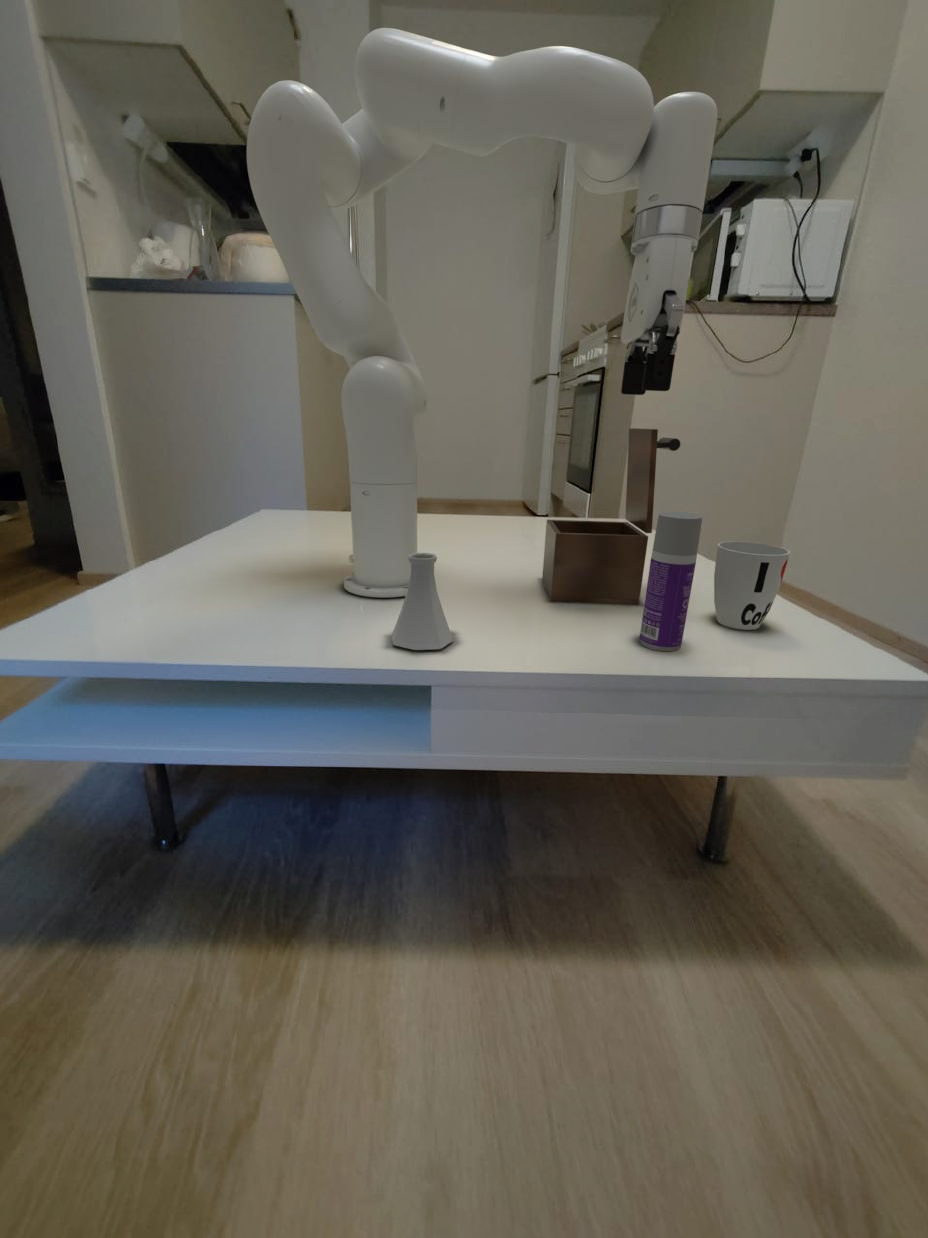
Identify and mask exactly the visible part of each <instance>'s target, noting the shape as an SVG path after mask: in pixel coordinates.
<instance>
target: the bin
mask: <svg viewBox="0 0 928 1238" xmlns="http://www.w3.org/2000/svg"><path fill="white" fill-rule="evenodd" d="M545 526H546V527H545V539H544V551H543V564H542V576H541V577H542V578H541V579H542V582H543V586H544V588H545V590H546V593H547V597H548V598H549V601H550V602H555V603H557V602H558V603H587V604H611V605H613V604H615V605H639V604H640V598H641V592H642V586H643V579H644V578H643V577H644V571H645V563H646V558H647V557H646V556H647V549H648V541H649V536H648V535H647V534H646V533H645V532H643V531H642V530H640V529H639V528H638V527H636V526H635V525H633V524H632V523H630V522H629V521H607V520H606V521H605V520H604V521H603V520H576V519H574V520H573V519H572V520H571V519H546V525H545Z"/></svg>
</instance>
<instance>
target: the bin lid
mask: <svg viewBox="0 0 928 1238" xmlns="http://www.w3.org/2000/svg"><path fill="white" fill-rule="evenodd" d="M658 435H659V429H657V428H637V427H636V428H632V427H631V428H628V446H627V469H626V472H627V473H626V493H625V494H626V495H625V517H624V519H625V521H626V522H628V523H629V524H631V525H632V526H634V527H635V528H637V529H638V530H640V531H641V532H643V533H644V534H652V533H653V521H654V502H655V488H656V487H655V484H656V469H657V451H658V449H660V450H663V451H664V450H665V451H671V452H675V451H678V450H679V449H680V447H681V440H680V439H678V438H675V437H661V438H659V439H658Z"/></svg>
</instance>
